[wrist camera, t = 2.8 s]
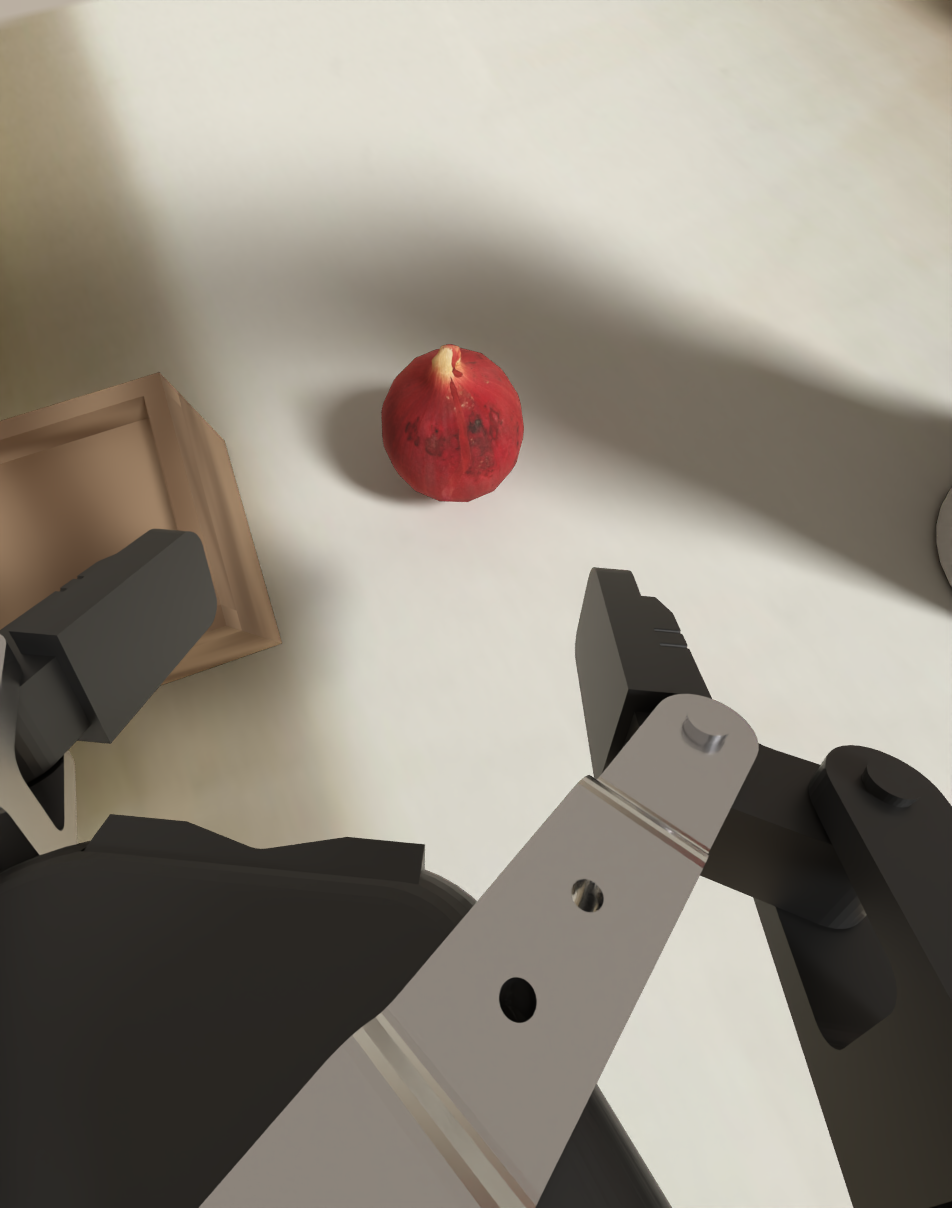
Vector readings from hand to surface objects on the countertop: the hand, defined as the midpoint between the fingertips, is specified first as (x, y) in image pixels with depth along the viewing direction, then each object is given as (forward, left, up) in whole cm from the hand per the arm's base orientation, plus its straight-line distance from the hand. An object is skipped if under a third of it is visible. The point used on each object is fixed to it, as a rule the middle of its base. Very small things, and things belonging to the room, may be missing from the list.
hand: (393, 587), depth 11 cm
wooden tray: (+12, -8, -12) cm, 19 cm away
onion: (-4, -8, -13) cm, 15 cm away
